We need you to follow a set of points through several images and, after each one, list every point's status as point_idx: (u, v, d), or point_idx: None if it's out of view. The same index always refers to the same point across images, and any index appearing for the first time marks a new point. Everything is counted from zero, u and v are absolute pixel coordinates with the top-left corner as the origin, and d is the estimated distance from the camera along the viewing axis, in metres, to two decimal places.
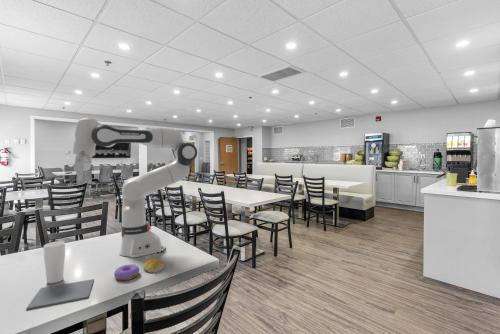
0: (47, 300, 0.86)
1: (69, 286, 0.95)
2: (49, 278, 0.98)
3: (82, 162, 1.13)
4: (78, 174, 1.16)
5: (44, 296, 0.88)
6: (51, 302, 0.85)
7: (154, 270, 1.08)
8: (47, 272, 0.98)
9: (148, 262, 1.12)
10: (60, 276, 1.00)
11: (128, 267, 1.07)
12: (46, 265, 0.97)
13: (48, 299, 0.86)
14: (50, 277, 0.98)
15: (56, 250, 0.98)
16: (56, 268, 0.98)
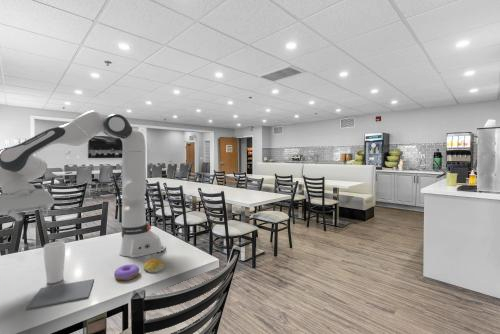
0: (47, 300, 0.86)
1: (69, 286, 0.95)
2: (49, 278, 0.98)
3: None
4: (11, 215, 0.99)
5: (44, 296, 0.88)
6: (51, 302, 0.85)
7: (154, 270, 1.08)
8: (47, 272, 0.98)
9: (148, 262, 1.12)
10: (60, 276, 1.00)
11: (128, 267, 1.07)
12: (46, 265, 0.97)
13: (48, 299, 0.86)
14: (50, 277, 0.98)
15: (56, 250, 0.98)
16: (56, 268, 0.98)
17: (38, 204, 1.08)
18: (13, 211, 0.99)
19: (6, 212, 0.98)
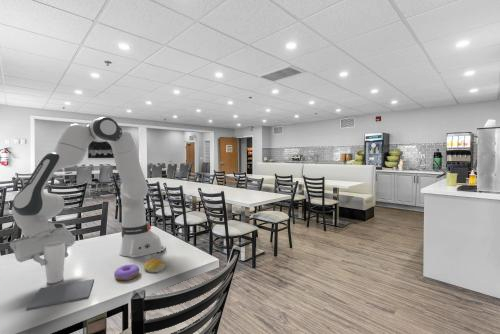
0: (47, 300, 0.86)
1: (69, 286, 0.95)
2: (49, 278, 0.98)
3: (17, 249, 0.93)
4: (36, 260, 0.96)
5: (44, 296, 0.88)
6: (51, 302, 0.85)
7: (155, 270, 1.08)
8: (47, 272, 0.98)
9: (149, 262, 1.12)
10: (60, 276, 1.00)
11: (128, 267, 1.07)
12: (46, 265, 0.97)
13: (48, 299, 0.86)
14: (50, 277, 0.98)
15: (56, 250, 0.98)
16: (56, 268, 0.98)
17: None
18: (38, 256, 0.96)
19: (28, 258, 0.94)
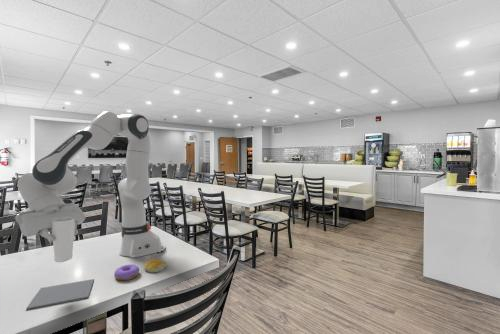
0: (47, 300, 0.86)
1: (69, 286, 0.95)
2: (57, 256, 0.89)
3: (23, 223, 0.84)
4: (43, 235, 0.87)
5: (44, 296, 0.88)
6: (51, 302, 0.85)
7: (155, 270, 1.08)
8: (55, 249, 0.89)
9: (149, 262, 1.12)
10: (69, 255, 0.91)
11: (128, 267, 1.07)
12: (54, 242, 0.89)
13: (48, 299, 0.86)
14: (58, 255, 0.89)
15: (65, 225, 0.89)
16: (65, 245, 0.90)
17: None
18: (45, 231, 0.87)
19: (35, 233, 0.86)
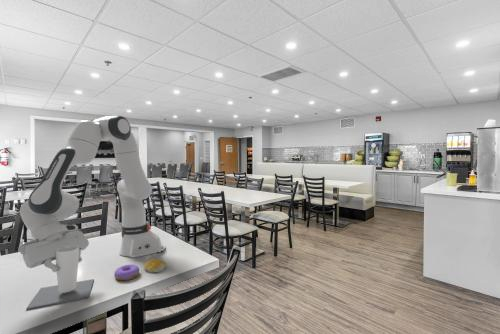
0: (47, 300, 0.86)
1: None
2: (61, 286, 0.88)
3: (27, 254, 0.83)
4: (47, 266, 0.86)
5: (44, 296, 0.88)
6: (51, 302, 0.85)
7: (155, 270, 1.08)
8: (59, 280, 0.88)
9: (149, 262, 1.12)
10: (73, 285, 0.90)
11: (128, 267, 1.07)
12: (58, 272, 0.88)
13: (48, 299, 0.86)
14: (62, 286, 0.88)
15: (69, 256, 0.88)
16: (69, 276, 0.89)
17: None
18: (49, 261, 0.86)
19: (39, 263, 0.85)
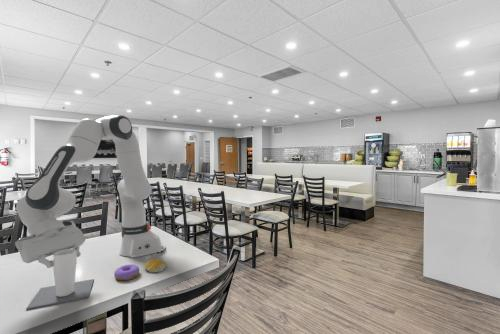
0: (47, 300, 0.86)
1: None
2: (58, 290, 0.87)
3: (23, 249, 0.83)
4: (41, 262, 0.86)
5: (44, 296, 0.88)
6: (51, 302, 0.85)
7: (156, 270, 1.08)
8: (56, 284, 0.87)
9: (149, 262, 1.12)
10: (70, 288, 0.89)
11: (128, 267, 1.07)
12: (55, 276, 0.87)
13: (48, 299, 0.86)
14: (60, 290, 0.87)
15: (67, 259, 0.87)
16: (66, 280, 0.88)
17: (69, 244, 0.95)
18: (43, 257, 0.86)
19: (36, 258, 0.85)
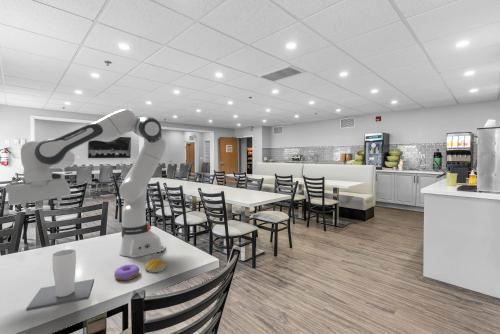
0: (47, 300, 0.86)
1: None
2: (58, 291, 0.87)
3: (8, 194, 0.99)
4: (23, 207, 1.02)
5: (44, 296, 0.88)
6: (51, 302, 0.85)
7: (156, 270, 1.08)
8: (56, 284, 0.87)
9: (150, 262, 1.12)
10: (70, 289, 0.89)
11: (128, 267, 1.07)
12: (55, 276, 0.87)
13: (48, 299, 0.86)
14: (59, 290, 0.87)
15: (66, 260, 0.87)
16: (66, 280, 0.88)
17: (51, 197, 1.07)
18: (23, 204, 1.01)
19: (18, 203, 1.01)
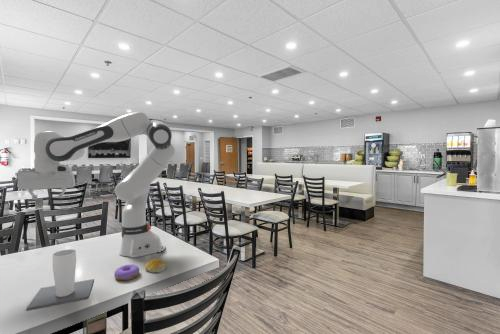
0: (47, 300, 0.86)
1: None
2: (58, 291, 0.87)
3: (18, 180, 1.07)
4: None
5: (44, 296, 0.88)
6: (51, 302, 0.85)
7: (156, 270, 1.08)
8: (56, 284, 0.87)
9: (150, 262, 1.12)
10: (70, 289, 0.89)
11: (128, 267, 1.07)
12: (55, 276, 0.87)
13: (48, 299, 0.86)
14: (59, 290, 0.87)
15: (66, 260, 0.87)
16: (66, 280, 0.88)
17: (55, 187, 1.12)
18: (30, 191, 1.09)
19: (27, 188, 1.09)
